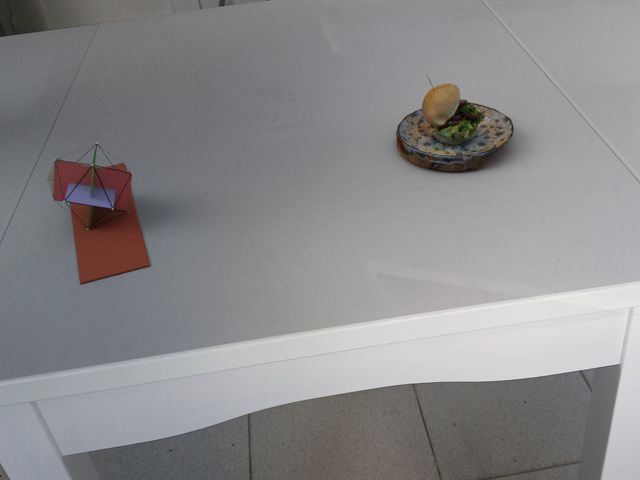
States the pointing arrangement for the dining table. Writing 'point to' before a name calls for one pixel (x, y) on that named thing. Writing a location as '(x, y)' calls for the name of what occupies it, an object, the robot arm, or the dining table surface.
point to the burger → (451, 131)
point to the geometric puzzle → (90, 185)
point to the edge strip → (107, 240)
